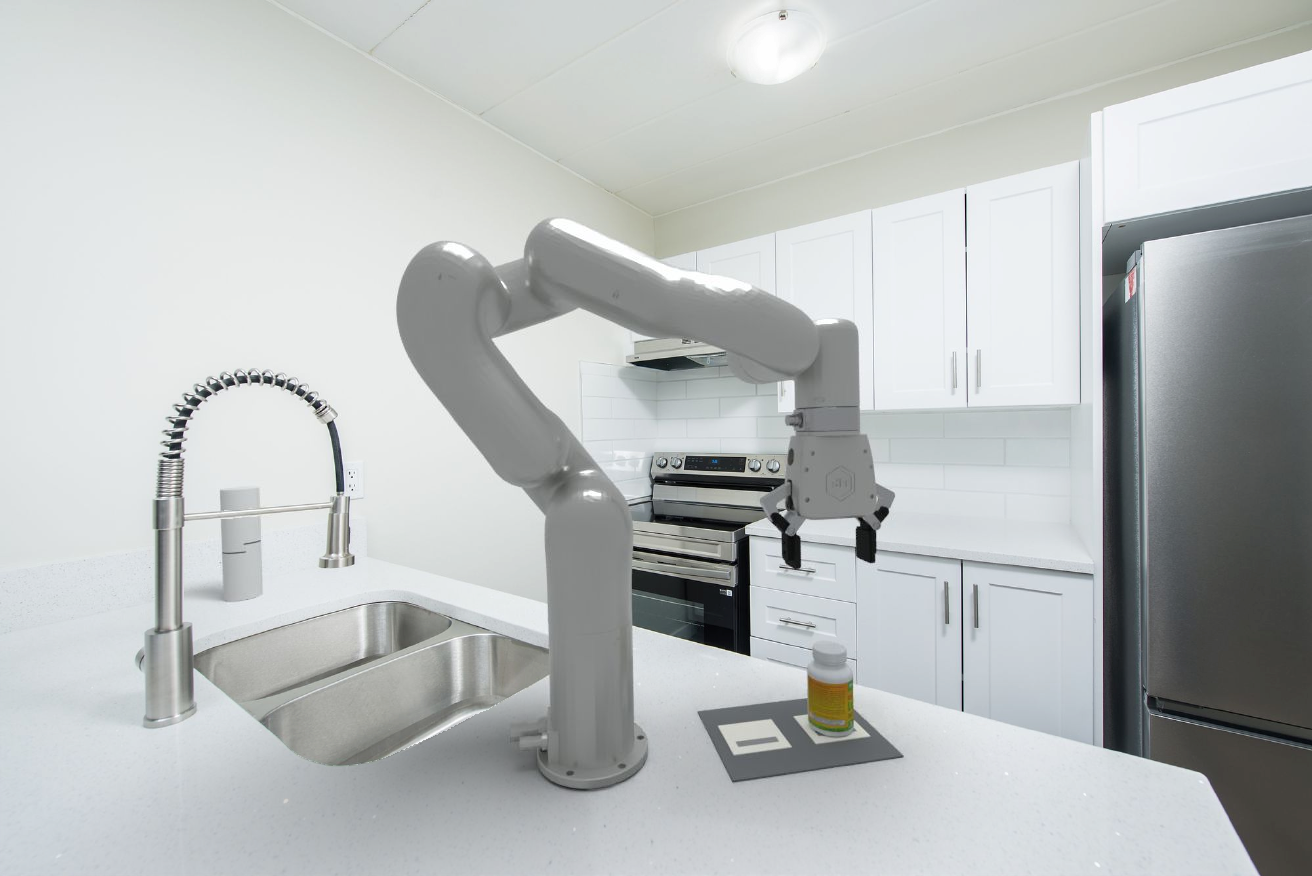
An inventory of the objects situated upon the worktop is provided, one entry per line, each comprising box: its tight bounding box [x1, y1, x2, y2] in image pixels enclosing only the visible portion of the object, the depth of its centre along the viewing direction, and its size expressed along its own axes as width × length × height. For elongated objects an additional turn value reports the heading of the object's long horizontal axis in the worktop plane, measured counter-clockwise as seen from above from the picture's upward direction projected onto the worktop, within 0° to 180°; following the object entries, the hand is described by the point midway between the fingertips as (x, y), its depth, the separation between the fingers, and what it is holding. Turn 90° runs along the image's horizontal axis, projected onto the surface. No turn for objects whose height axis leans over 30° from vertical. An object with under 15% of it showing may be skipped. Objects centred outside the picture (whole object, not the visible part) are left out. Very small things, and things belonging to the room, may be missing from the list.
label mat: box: [697, 697, 905, 783], centre depth 65 cm, size 20×14×1 cm
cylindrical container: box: [219, 486, 264, 602], centre depth 123 cm, size 7×7×25 cm
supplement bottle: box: [806, 640, 855, 737], centre depth 65 cm, size 5×5×10 cm
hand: (829, 563), depth 65 cm, fingers open, 9 cm apart
